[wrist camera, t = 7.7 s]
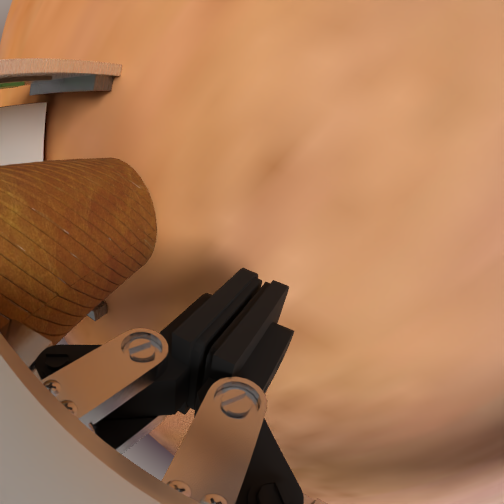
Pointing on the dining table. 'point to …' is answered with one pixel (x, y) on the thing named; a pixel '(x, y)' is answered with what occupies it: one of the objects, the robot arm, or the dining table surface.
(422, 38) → the dining table surface
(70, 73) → the gauge frame
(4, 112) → the pale grey flat panel
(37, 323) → the disposable coffee cup
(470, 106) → the dining table surface
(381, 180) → the dining table surface
